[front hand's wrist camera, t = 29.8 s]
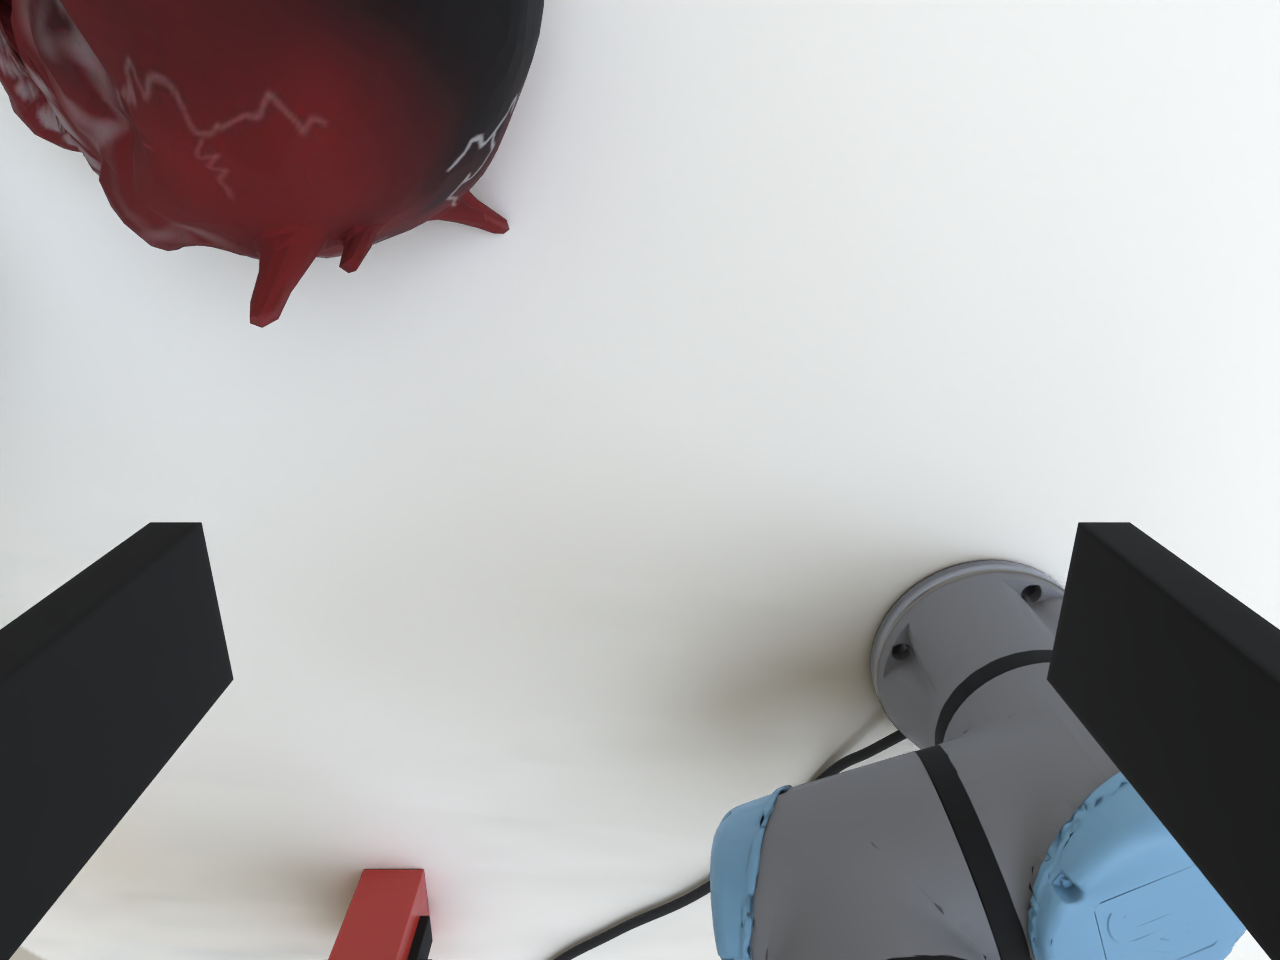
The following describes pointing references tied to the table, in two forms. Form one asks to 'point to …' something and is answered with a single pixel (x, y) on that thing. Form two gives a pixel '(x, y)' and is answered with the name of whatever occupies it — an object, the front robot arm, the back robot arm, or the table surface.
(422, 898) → the brick
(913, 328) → the table surface
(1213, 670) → the front robot arm
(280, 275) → the dark red round lump
